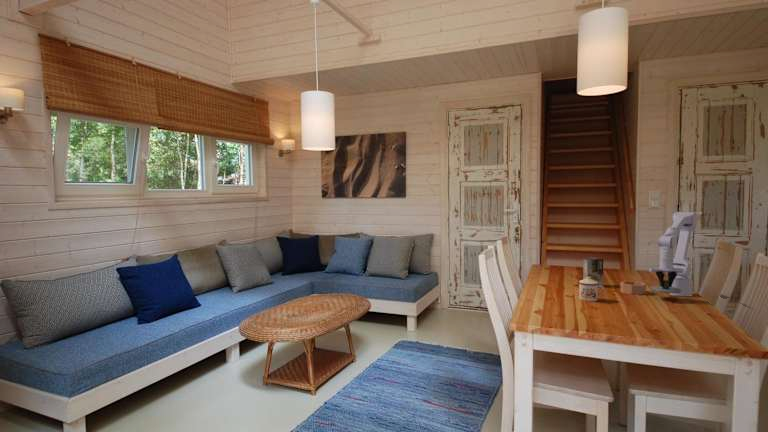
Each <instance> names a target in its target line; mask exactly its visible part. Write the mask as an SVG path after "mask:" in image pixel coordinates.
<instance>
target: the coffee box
mask: <svg viewBox="0 0 768 432" xmlns="http://www.w3.org/2000/svg"><path fill="white" fill-rule="evenodd" d="M582 264H583V266H582V268H583V272H582V273H583V276H582V277H583V278H582V280H583V279H586V278H587V277H591V279H593V280H594V281H597V282H598V283H599V284H598V286H602V287H604V259H603V258H601V257H596V256H595V257H593V256H592V257H583V263H582Z"/></svg>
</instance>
